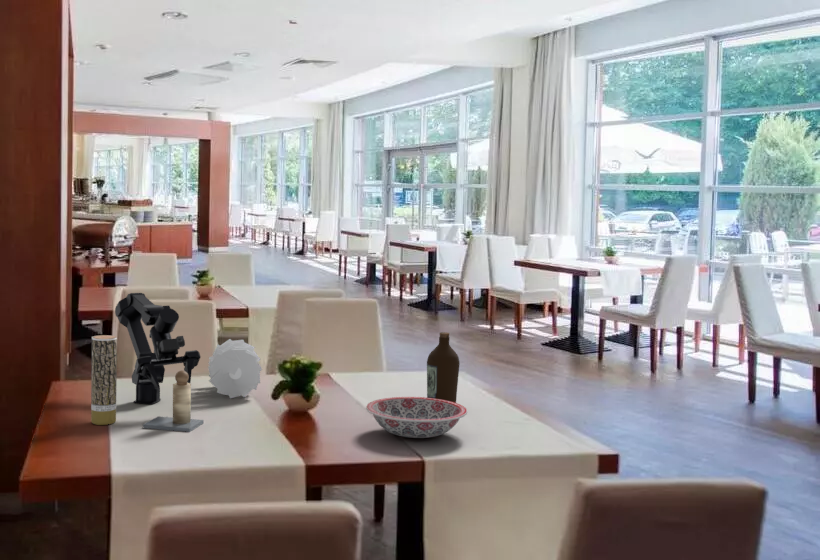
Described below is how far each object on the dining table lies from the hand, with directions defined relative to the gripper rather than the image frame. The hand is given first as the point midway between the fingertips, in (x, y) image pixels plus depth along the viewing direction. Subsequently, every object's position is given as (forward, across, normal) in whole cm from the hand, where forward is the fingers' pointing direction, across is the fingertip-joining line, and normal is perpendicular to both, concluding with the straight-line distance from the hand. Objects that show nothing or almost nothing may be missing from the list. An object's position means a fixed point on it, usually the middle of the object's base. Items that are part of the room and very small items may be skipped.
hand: (174, 386), depth 265 cm
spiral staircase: (-9, +28, +28) cm, 40 cm away
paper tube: (+5, -20, +7) cm, 22 cm away
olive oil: (+25, +81, -5) cm, 85 cm away
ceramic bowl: (+40, +56, -24) cm, 73 cm away
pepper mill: (+12, -1, -1) cm, 13 cm away
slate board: (+13, -3, 0) cm, 13 cm away
